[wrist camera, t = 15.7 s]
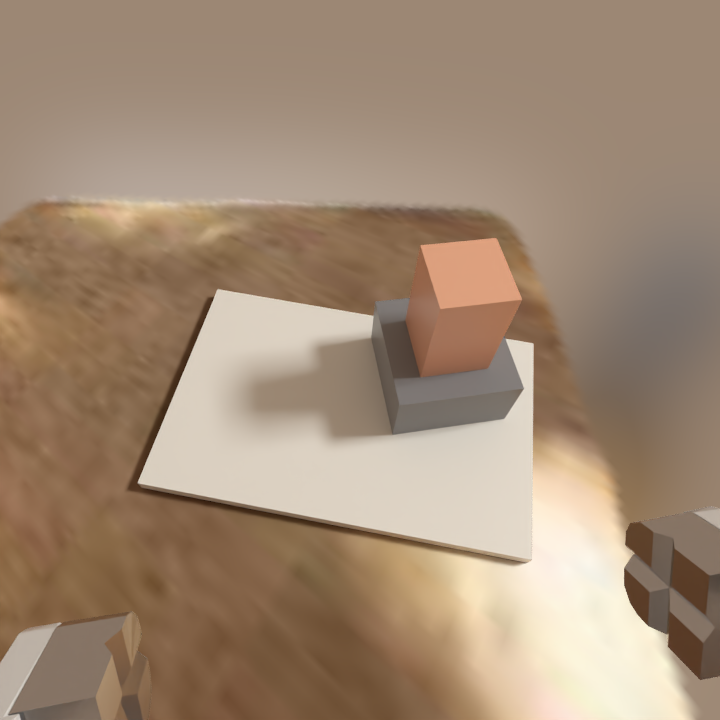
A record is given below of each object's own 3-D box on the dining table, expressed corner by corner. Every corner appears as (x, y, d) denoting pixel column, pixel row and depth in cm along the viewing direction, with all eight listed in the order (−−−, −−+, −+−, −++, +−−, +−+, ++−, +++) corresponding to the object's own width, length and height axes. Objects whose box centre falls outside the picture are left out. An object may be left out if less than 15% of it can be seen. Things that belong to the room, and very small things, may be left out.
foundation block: (392, 434, 40) (399, 405, 36) (371, 338, 45) (375, 301, 41) (504, 418, 41) (524, 388, 37) (472, 325, 46) (486, 289, 42)
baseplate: (141, 487, 38) (137, 483, 38) (219, 296, 48) (217, 289, 47) (527, 562, 37) (531, 559, 36) (529, 349, 46) (533, 343, 45)
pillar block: (420, 377, 37) (440, 309, 30) (405, 320, 40) (420, 245, 33) (488, 368, 38) (522, 299, 31) (468, 312, 40) (496, 237, 34)
